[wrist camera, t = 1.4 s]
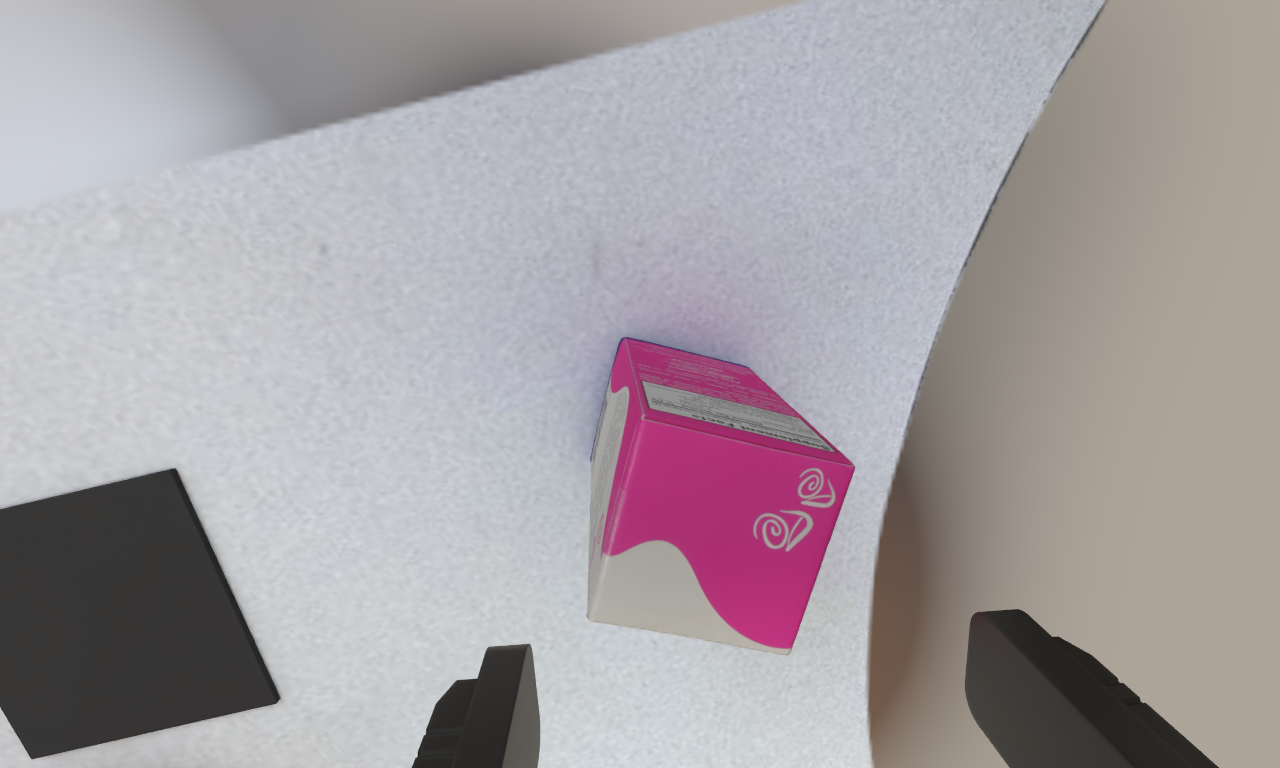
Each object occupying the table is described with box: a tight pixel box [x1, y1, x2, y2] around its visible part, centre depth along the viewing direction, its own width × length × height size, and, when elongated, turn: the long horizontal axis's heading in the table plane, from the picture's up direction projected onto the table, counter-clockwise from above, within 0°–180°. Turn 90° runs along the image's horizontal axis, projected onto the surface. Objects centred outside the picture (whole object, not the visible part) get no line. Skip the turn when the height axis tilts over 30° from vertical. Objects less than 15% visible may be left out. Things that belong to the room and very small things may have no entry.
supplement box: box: [587, 337, 855, 655], centre depth 21 cm, size 6×6×12 cm
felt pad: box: [0, 469, 280, 759], centre depth 27 cm, size 12×12×1 cm
